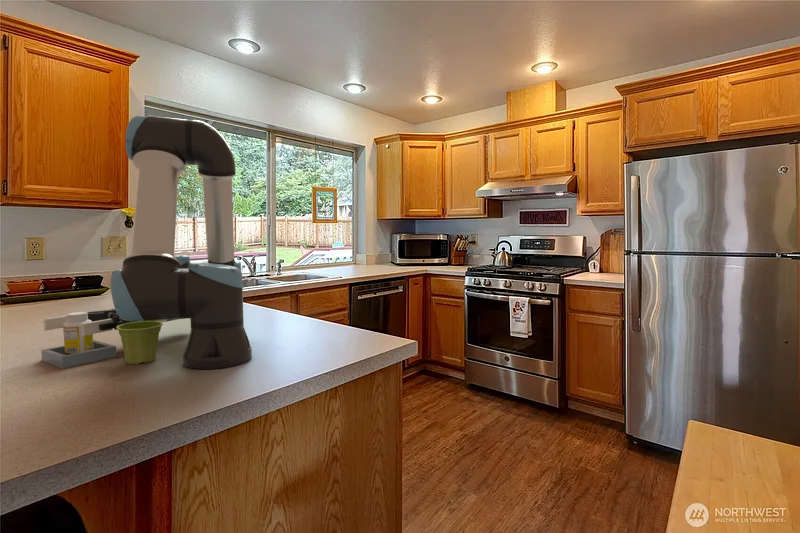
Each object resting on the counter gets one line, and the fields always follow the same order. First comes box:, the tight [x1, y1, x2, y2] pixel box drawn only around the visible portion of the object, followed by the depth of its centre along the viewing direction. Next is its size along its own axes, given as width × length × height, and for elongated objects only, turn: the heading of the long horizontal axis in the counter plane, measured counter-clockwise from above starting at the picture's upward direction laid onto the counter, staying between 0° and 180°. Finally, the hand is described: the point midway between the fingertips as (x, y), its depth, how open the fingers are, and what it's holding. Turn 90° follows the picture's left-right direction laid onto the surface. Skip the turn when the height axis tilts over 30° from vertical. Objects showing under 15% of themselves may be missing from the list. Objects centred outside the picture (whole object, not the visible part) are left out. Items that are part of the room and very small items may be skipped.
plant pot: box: [116, 321, 164, 365], centre depth 98 cm, size 9×9×9 cm
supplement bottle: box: [62, 311, 94, 355], centre depth 100 cm, size 6×6×10 cm
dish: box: [41, 339, 117, 369], centre depth 100 cm, size 11×11×3 cm
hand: (63, 327), depth 96 cm, fingers open, 13 cm apart
